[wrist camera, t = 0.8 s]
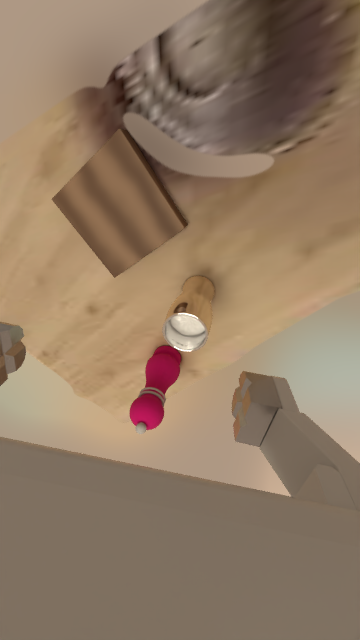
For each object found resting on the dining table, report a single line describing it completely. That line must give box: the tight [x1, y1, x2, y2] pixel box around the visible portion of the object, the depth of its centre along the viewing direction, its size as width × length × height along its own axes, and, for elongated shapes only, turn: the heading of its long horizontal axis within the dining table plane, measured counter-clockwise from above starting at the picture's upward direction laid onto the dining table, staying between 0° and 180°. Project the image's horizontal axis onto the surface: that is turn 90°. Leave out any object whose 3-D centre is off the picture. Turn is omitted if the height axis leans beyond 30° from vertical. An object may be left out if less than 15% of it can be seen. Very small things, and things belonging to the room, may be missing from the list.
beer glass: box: [163, 276, 215, 352], centre depth 43 cm, size 7×7×15 cm
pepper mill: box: [130, 346, 181, 434], centre depth 51 cm, size 7×7×20 cm
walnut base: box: [52, 129, 187, 278], centre depth 44 cm, size 16×16×3 cm
